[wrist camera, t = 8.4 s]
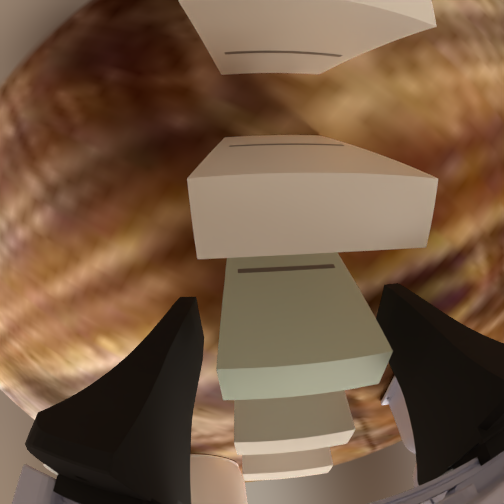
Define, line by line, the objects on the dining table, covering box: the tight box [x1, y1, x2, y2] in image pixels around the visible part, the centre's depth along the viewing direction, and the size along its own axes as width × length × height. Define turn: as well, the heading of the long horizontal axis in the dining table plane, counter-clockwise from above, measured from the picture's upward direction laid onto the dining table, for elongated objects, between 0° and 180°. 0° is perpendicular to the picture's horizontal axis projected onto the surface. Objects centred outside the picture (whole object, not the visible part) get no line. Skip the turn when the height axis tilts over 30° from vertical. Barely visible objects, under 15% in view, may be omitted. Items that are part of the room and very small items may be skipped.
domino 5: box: [242, 447, 333, 481], centre depth 16 cm, size 2×5×10 cm, turn 92°
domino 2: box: [187, 135, 438, 259], centre depth 10 cm, size 2×5×10 cm, turn 92°
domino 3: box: [217, 252, 393, 400], centre depth 12 cm, size 2×5×10 cm, turn 92°
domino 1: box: [178, 0, 436, 75], centre depth 7 cm, size 2×5×10 cm, turn 92°
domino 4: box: [234, 390, 355, 455], centre depth 14 cm, size 2×5×10 cm, turn 92°
